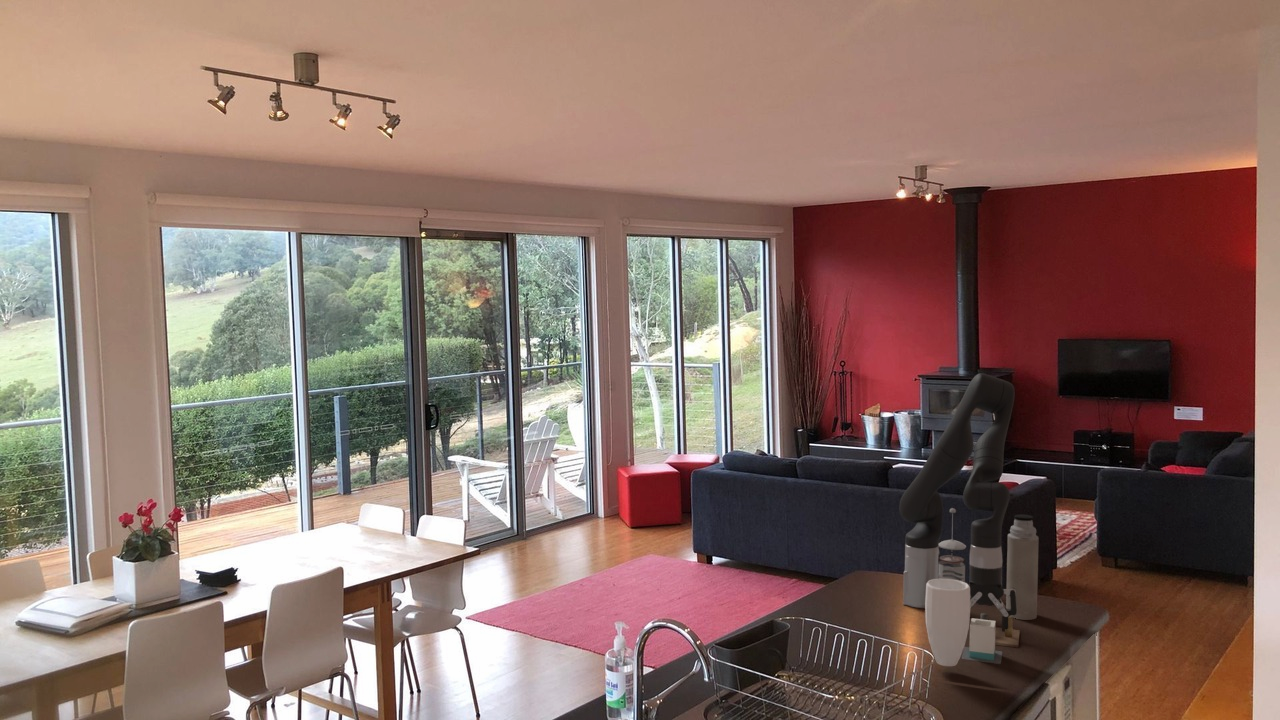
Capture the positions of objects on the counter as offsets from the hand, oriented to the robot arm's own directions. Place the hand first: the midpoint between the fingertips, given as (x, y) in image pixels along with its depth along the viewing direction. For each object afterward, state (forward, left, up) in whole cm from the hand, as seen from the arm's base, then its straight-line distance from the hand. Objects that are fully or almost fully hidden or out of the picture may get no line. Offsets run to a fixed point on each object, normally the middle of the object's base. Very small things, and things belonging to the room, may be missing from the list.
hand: (985, 628), depth 240 cm
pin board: (+2, +15, -7) cm, 17 cm away
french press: (-14, +55, -7) cm, 57 cm away
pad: (-1, 0, -7) cm, 7 cm away
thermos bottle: (+7, +38, -7) cm, 39 cm away
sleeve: (-1, 0, -7) cm, 7 cm away
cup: (-8, -15, -7) cm, 18 cm away
